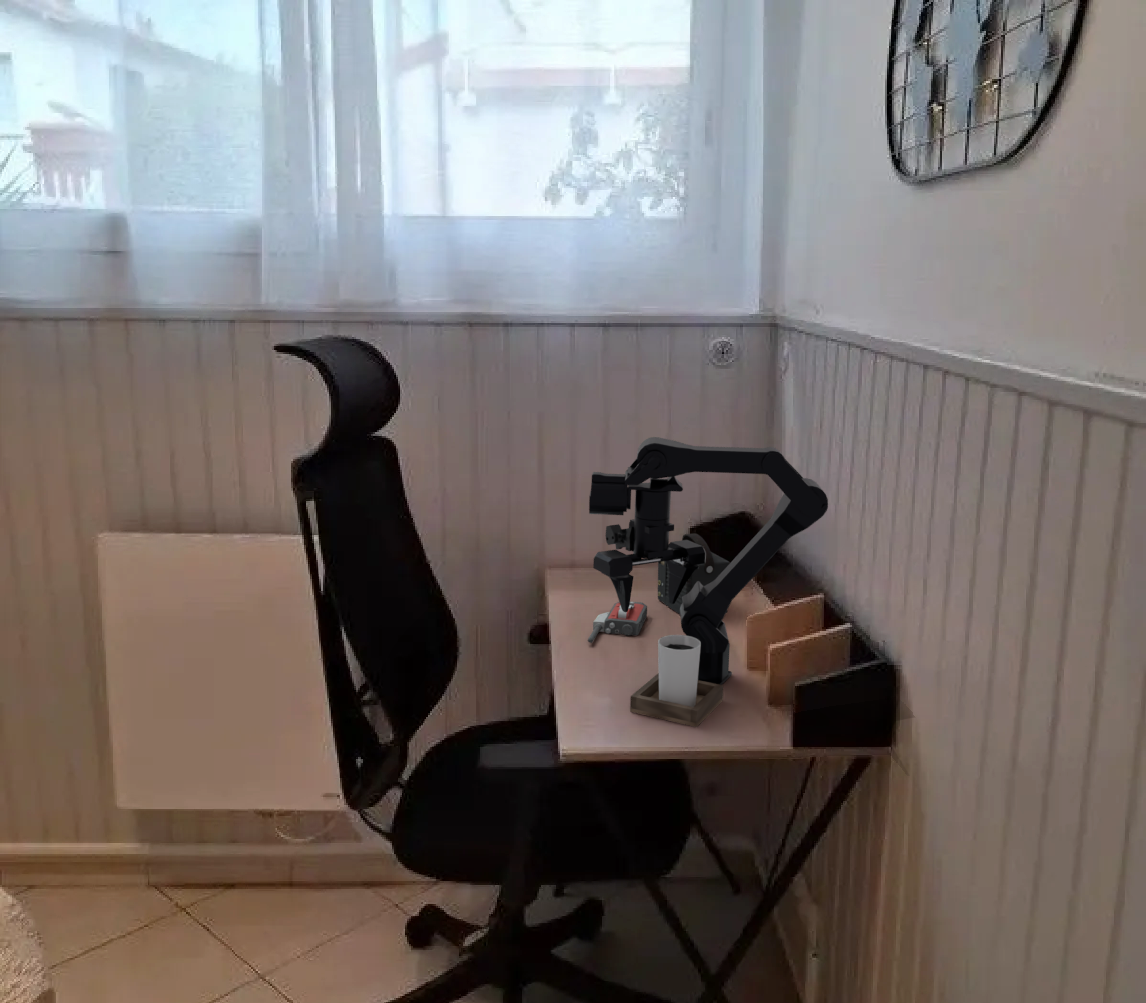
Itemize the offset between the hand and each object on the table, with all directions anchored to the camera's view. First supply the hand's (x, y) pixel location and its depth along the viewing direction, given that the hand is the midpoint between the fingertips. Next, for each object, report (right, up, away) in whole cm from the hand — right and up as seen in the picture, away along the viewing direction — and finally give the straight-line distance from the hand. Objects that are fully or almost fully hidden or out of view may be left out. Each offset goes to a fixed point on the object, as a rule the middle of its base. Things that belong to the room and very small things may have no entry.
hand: (648, 607), depth 173 cm
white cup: (+4, -14, -9) cm, 17 cm away
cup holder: (+4, -15, -9) cm, 17 cm away
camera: (+12, -4, +38) cm, 40 cm away
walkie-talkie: (-4, -7, +25) cm, 26 cm away
